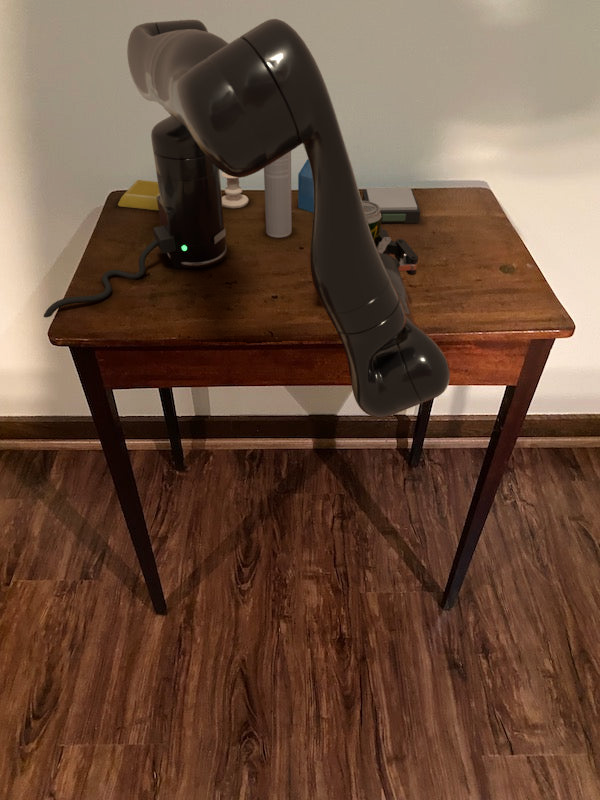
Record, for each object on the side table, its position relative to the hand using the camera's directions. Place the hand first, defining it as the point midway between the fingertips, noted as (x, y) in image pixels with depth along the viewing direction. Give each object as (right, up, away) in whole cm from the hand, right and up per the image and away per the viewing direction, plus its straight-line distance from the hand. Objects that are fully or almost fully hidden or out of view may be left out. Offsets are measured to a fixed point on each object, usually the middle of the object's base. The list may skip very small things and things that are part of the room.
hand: (357, 233), depth 97 cm
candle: (-20, +12, +25) cm, 34 cm away
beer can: (0, -7, +3) cm, 8 cm away
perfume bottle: (-4, +11, +24) cm, 26 cm away
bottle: (-12, +4, +16) cm, 21 cm away
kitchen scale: (+8, +9, +22) cm, 25 cm away
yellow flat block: (-36, +15, +24) cm, 46 cm away
